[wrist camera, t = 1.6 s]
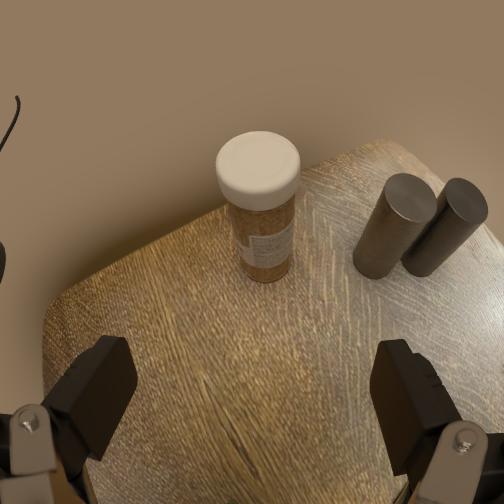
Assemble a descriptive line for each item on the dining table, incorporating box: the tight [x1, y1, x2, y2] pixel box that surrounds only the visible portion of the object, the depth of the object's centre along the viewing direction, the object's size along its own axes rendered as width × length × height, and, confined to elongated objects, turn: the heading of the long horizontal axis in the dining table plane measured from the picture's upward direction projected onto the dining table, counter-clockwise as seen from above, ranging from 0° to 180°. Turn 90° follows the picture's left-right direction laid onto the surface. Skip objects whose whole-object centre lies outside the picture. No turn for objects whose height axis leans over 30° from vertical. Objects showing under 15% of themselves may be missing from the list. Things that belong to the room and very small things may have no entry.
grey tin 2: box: [401, 178, 488, 277], centre depth 22 cm, size 4×4×10 cm
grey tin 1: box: [353, 173, 437, 279], centre depth 22 cm, size 4×4×10 cm
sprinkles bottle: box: [216, 131, 300, 283], centre depth 21 cm, size 5×5×14 cm
